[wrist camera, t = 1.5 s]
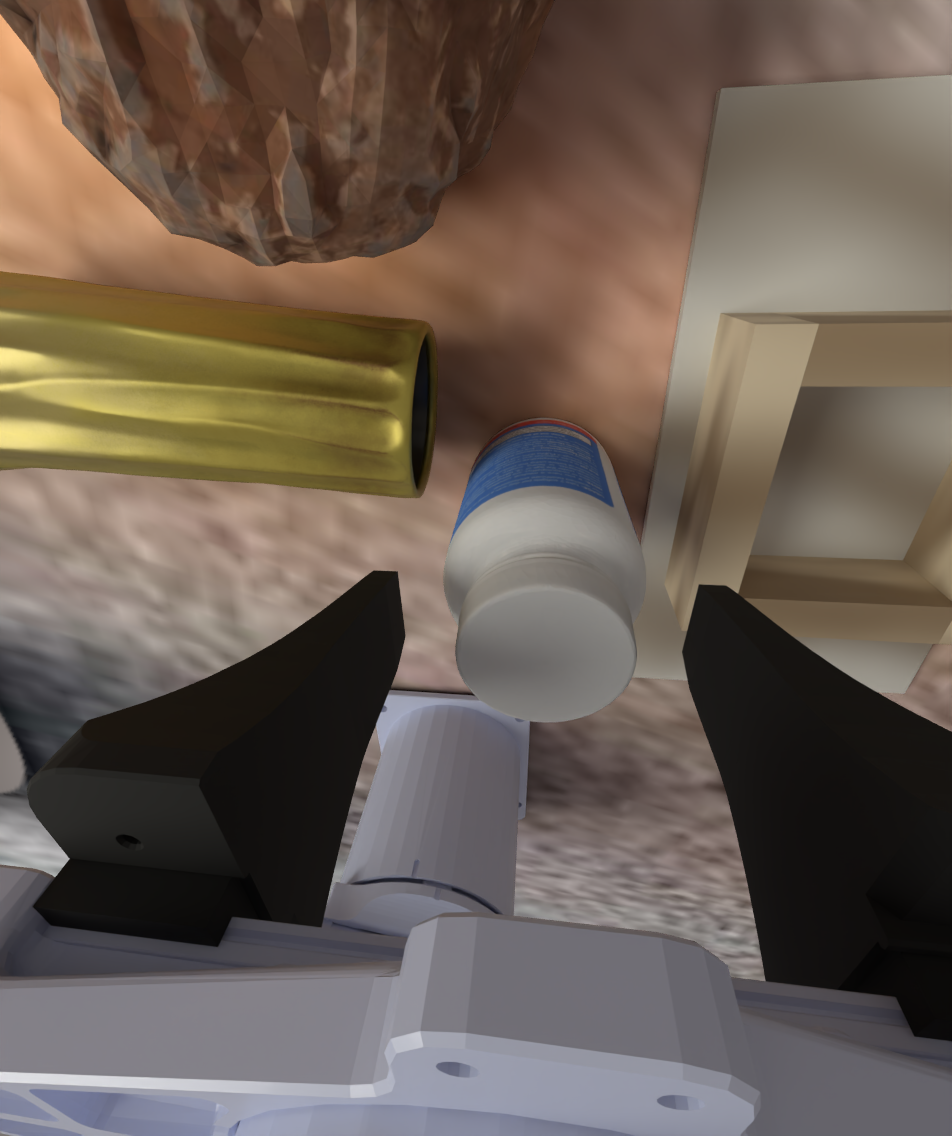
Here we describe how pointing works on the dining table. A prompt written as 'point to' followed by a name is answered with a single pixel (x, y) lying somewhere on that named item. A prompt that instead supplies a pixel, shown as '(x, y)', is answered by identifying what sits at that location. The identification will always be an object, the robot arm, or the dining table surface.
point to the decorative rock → (285, 109)
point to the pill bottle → (544, 575)
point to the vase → (213, 389)
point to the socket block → (813, 380)
